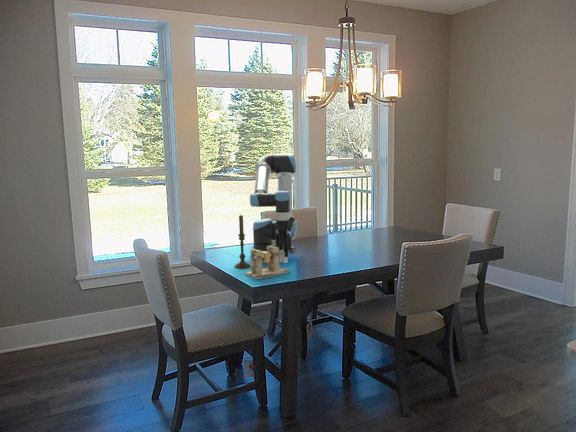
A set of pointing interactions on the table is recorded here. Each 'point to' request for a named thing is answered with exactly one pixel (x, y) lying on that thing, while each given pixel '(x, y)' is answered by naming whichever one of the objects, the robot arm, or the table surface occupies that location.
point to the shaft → (280, 252)
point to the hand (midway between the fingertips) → (283, 261)
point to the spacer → (266, 256)
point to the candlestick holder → (241, 238)
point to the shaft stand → (271, 266)
